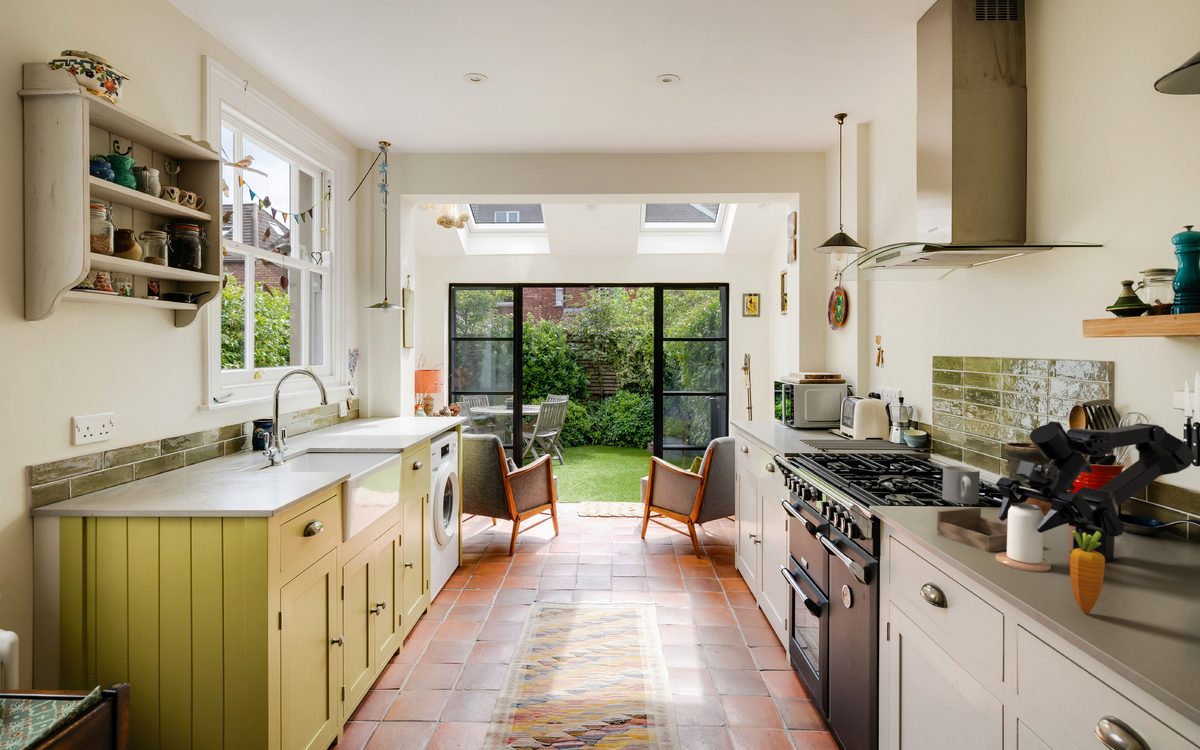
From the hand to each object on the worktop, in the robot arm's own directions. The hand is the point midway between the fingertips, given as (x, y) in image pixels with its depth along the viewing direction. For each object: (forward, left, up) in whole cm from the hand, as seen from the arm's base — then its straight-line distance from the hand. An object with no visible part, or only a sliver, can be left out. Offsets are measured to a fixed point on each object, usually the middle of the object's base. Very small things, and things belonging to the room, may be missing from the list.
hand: (1018, 525), depth 131 cm
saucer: (0, -1, -9) cm, 9 cm away
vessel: (+31, -48, -9) cm, 58 cm away
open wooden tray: (+15, -8, -9) cm, 19 cm away
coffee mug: (+47, -39, -9) cm, 62 cm away
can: (0, -2, -8) cm, 8 cm away
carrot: (-22, +14, -9) cm, 27 cm away
